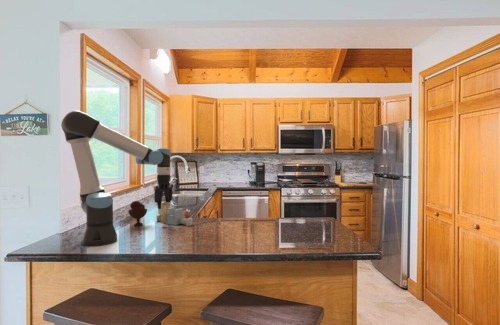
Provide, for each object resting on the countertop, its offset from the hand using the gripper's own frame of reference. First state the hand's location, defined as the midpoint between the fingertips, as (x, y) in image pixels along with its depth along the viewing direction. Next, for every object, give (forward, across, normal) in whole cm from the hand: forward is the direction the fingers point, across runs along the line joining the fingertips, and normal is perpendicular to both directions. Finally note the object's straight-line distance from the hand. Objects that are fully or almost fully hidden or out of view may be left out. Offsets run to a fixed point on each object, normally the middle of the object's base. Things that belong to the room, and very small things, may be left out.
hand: (163, 213), depth 181 cm
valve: (+7, +13, +1) cm, 15 cm away
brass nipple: (+5, 0, 0) cm, 5 cm away
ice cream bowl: (+8, -5, +16) cm, 18 cm away
